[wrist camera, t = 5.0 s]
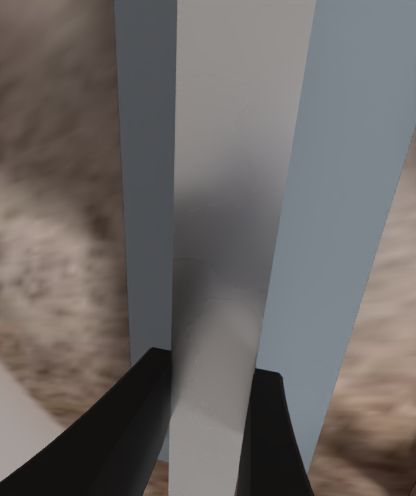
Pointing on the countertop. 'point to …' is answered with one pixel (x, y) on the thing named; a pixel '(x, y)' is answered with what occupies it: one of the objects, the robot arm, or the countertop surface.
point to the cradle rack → (413, 491)
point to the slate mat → (296, 190)
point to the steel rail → (226, 217)
